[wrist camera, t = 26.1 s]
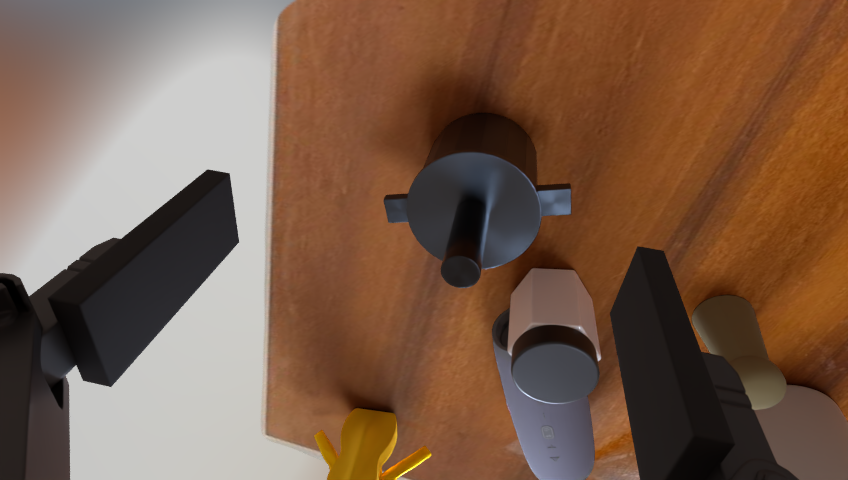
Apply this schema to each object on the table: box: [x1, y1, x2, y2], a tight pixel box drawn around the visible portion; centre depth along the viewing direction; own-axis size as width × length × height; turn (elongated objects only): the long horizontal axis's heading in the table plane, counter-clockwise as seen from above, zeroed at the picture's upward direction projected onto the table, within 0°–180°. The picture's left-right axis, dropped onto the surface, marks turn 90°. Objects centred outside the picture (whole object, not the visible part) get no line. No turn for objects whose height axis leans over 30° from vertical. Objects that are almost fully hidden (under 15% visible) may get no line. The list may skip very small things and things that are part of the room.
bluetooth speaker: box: [492, 308, 595, 480], centre depth 59 cm, size 23×9×10 cm, turn 17°
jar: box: [507, 268, 601, 404], centre depth 52 cm, size 9×8×12 cm
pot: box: [384, 113, 571, 223], centre depth 46 cm, size 10×16×10 cm, turn 100°
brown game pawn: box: [692, 295, 787, 410], centre depth 50 cm, size 6×6×11 cm
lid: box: [406, 149, 542, 288], centre depth 39 cm, size 11×11×9 cm
